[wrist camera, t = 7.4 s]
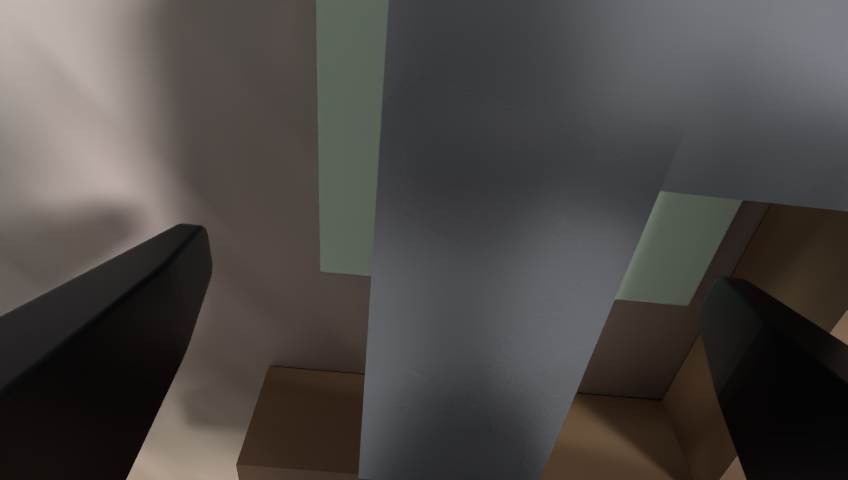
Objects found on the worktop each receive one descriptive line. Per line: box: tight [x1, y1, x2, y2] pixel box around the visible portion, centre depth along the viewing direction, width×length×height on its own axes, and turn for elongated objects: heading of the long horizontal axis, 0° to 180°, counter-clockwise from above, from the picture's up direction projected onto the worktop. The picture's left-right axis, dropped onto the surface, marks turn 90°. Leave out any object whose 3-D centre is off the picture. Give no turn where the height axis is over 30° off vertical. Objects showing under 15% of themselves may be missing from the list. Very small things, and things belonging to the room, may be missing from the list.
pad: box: [316, 0, 743, 306], centre depth 11 cm, size 9×9×1 cm
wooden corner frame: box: [236, 203, 848, 480], centre depth 10 cm, size 18×13×3 cm
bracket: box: [358, 0, 848, 480], centre depth 9 cm, size 9×6×5 cm, turn 174°
